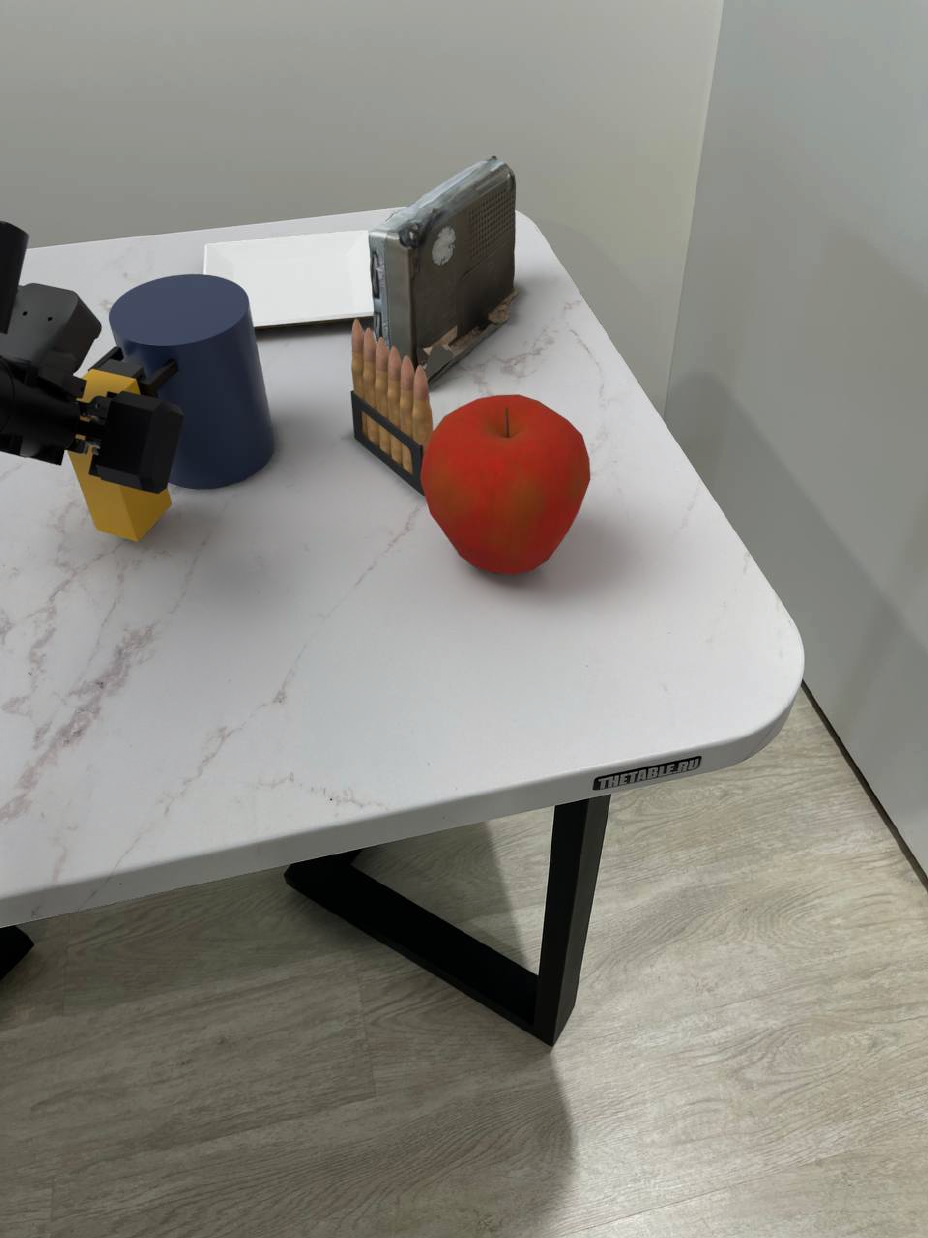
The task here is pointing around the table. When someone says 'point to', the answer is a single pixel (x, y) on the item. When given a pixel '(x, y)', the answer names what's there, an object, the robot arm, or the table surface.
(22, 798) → the table surface
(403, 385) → the ammunition clip
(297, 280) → the plate
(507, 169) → the radio
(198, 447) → the navy blue cylinder
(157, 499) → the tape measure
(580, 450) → the apple
